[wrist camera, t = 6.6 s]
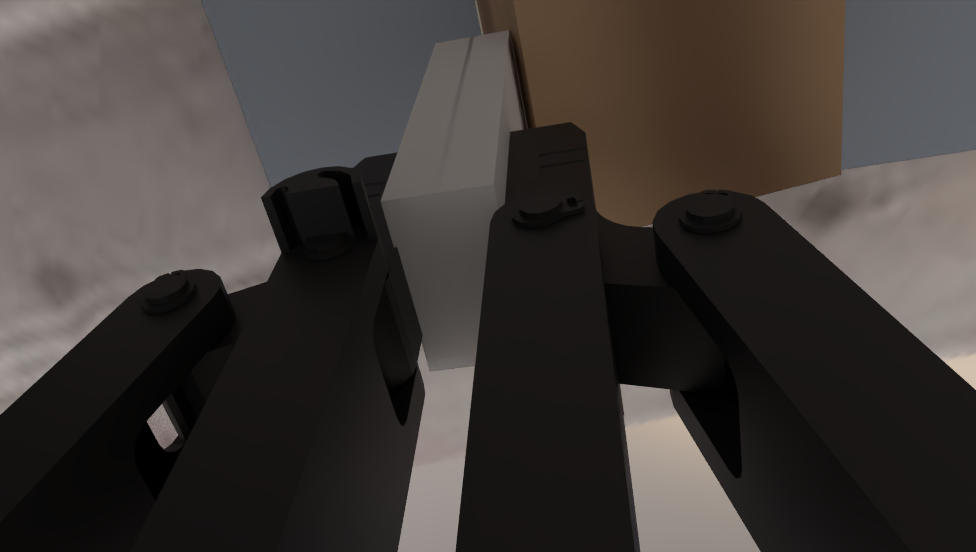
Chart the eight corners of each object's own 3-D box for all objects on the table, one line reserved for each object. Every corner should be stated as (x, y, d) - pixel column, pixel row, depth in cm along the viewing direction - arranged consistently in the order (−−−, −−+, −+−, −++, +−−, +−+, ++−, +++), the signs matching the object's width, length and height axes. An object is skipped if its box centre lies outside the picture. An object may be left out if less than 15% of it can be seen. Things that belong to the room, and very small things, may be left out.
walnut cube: (503, 142, 22) (557, 248, 17) (453, -103, 19) (502, -62, 14) (721, 86, 22) (841, 174, 17) (708, -164, 19) (849, -148, 14)
